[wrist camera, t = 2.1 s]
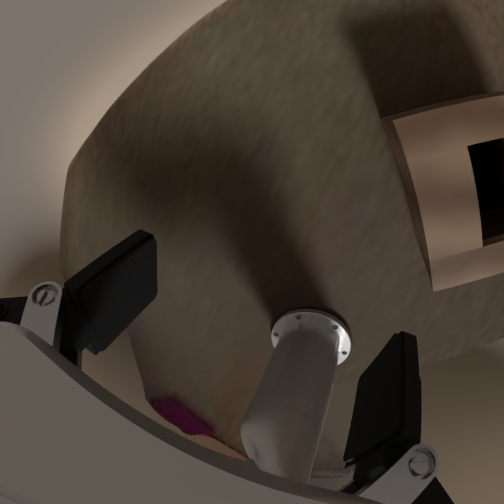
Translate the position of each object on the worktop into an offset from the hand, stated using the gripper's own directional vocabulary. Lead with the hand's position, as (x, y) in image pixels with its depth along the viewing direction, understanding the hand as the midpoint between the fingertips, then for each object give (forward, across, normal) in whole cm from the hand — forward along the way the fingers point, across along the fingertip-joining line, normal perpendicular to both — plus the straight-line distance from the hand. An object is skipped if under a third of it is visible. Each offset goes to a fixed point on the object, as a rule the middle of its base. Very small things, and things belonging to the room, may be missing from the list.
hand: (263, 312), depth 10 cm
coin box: (+24, -13, -6) cm, 28 cm away
